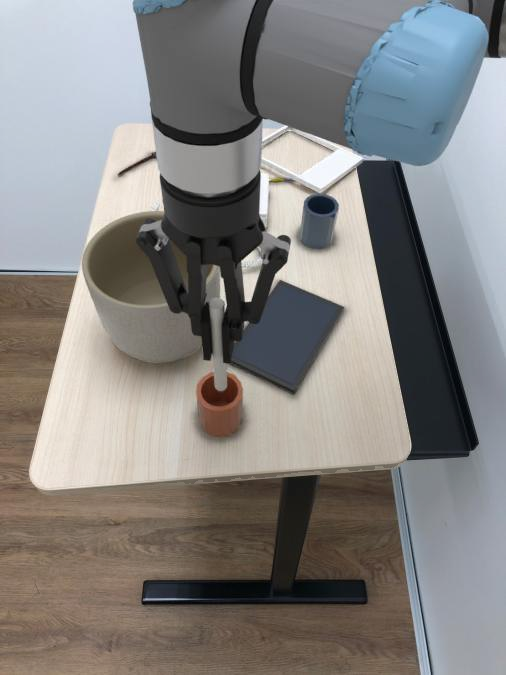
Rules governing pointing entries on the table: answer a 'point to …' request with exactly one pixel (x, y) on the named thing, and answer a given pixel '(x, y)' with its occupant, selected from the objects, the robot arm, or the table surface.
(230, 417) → the cup
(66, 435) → the table surface
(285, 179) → the pen
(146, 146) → the table surface
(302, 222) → the holder
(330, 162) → the photo frame
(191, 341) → the planter
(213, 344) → the stylus
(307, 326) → the tablet
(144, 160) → the katana
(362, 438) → the table surface
